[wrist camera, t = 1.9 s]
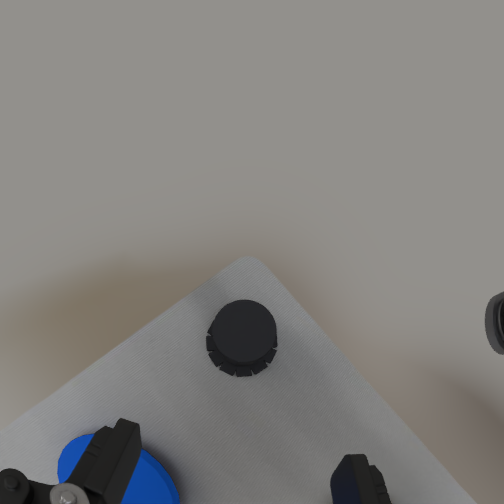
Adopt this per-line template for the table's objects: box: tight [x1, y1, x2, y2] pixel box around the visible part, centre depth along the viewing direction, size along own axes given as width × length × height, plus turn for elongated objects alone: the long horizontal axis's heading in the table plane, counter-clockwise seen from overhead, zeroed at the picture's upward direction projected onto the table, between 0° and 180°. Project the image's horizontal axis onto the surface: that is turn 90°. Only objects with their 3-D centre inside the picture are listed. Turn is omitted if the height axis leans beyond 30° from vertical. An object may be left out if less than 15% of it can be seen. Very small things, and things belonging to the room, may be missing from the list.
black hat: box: [206, 300, 277, 377], centre depth 30 cm, size 8×8×9 cm
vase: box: [57, 434, 180, 504], centre depth 22 cm, size 16×16×7 cm
